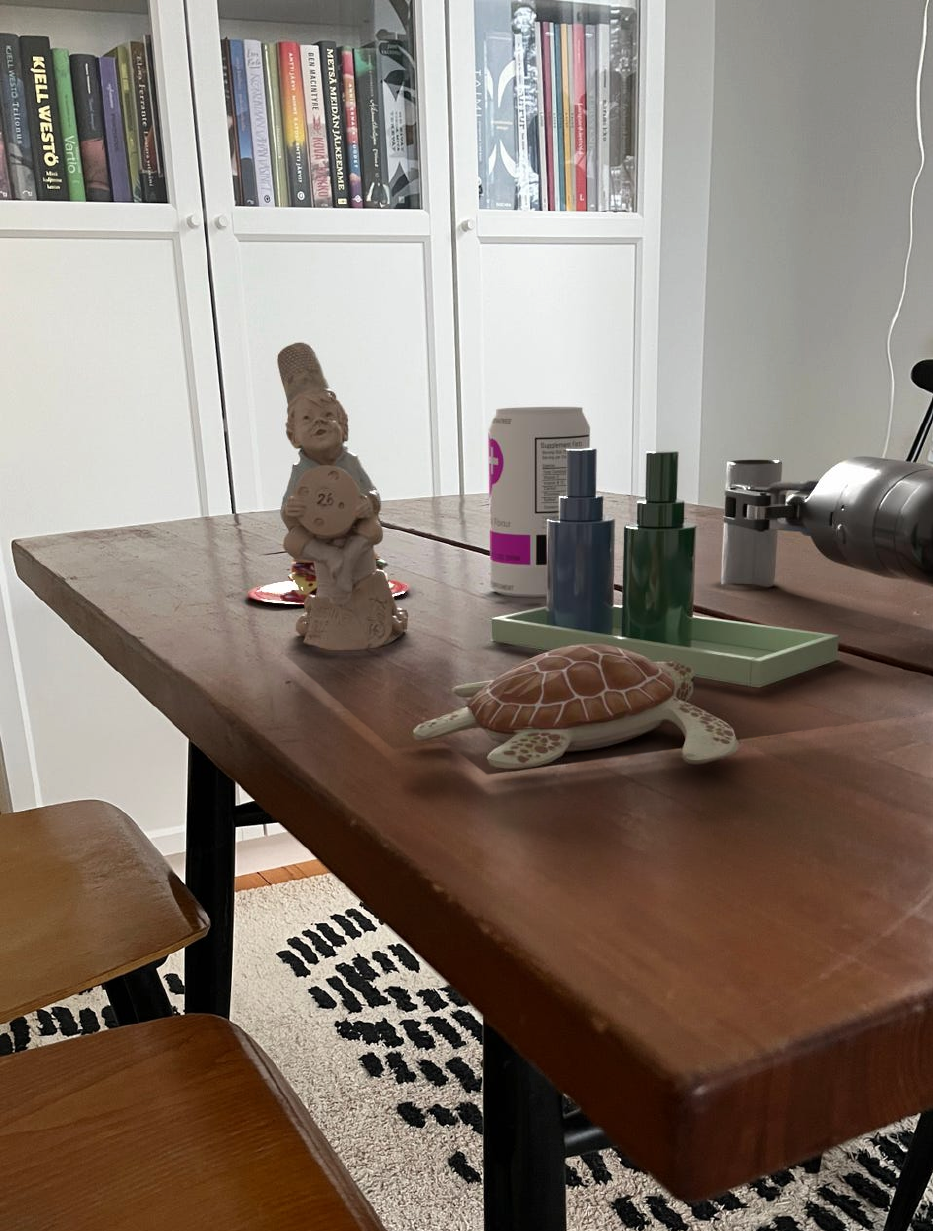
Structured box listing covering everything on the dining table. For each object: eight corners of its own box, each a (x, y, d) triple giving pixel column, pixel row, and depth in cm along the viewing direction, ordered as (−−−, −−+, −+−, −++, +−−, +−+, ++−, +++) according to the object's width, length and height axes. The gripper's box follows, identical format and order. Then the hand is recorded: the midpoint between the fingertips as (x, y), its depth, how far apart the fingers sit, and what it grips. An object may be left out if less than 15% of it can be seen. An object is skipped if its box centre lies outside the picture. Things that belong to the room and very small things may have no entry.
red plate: (240, 586, 111) (234, 519, 109) (391, 577, 115) (388, 511, 113) (256, 613, 99) (250, 537, 97) (425, 601, 102) (423, 528, 100)
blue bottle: (594, 627, 88) (597, 445, 84) (624, 639, 84) (629, 448, 80) (536, 633, 86) (535, 448, 82) (563, 645, 82) (564, 451, 78)
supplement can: (483, 603, 101) (480, 410, 96) (499, 586, 108) (497, 407, 103) (582, 604, 100) (584, 408, 94) (591, 587, 107) (593, 405, 102)
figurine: (294, 633, 91) (273, 343, 84) (408, 629, 91) (396, 340, 84) (286, 660, 83) (262, 340, 76) (411, 655, 83) (399, 337, 76)
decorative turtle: (827, 748, 61) (835, 648, 59) (587, 826, 51) (589, 711, 50) (574, 684, 74) (575, 602, 73) (346, 737, 65) (340, 643, 63)
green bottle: (669, 639, 84) (676, 447, 79) (704, 652, 80) (714, 451, 75) (609, 645, 82) (612, 450, 78) (642, 659, 78) (647, 454, 74)
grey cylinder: (725, 579, 109) (732, 459, 106) (777, 581, 108) (785, 459, 104) (716, 587, 105) (722, 463, 102) (770, 590, 104) (778, 463, 100)
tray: (836, 666, 77) (839, 635, 76) (758, 694, 71) (760, 660, 70) (575, 626, 91) (576, 599, 90) (491, 646, 85) (491, 618, 84)
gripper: (990, 456, 83) (871, 443, 98) (793, 463, 80) (702, 449, 95) (976, 568, 85) (862, 539, 100) (785, 579, 83) (697, 548, 98)
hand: (784, 495), depth 98 cm, fingers open, 8 cm apart
